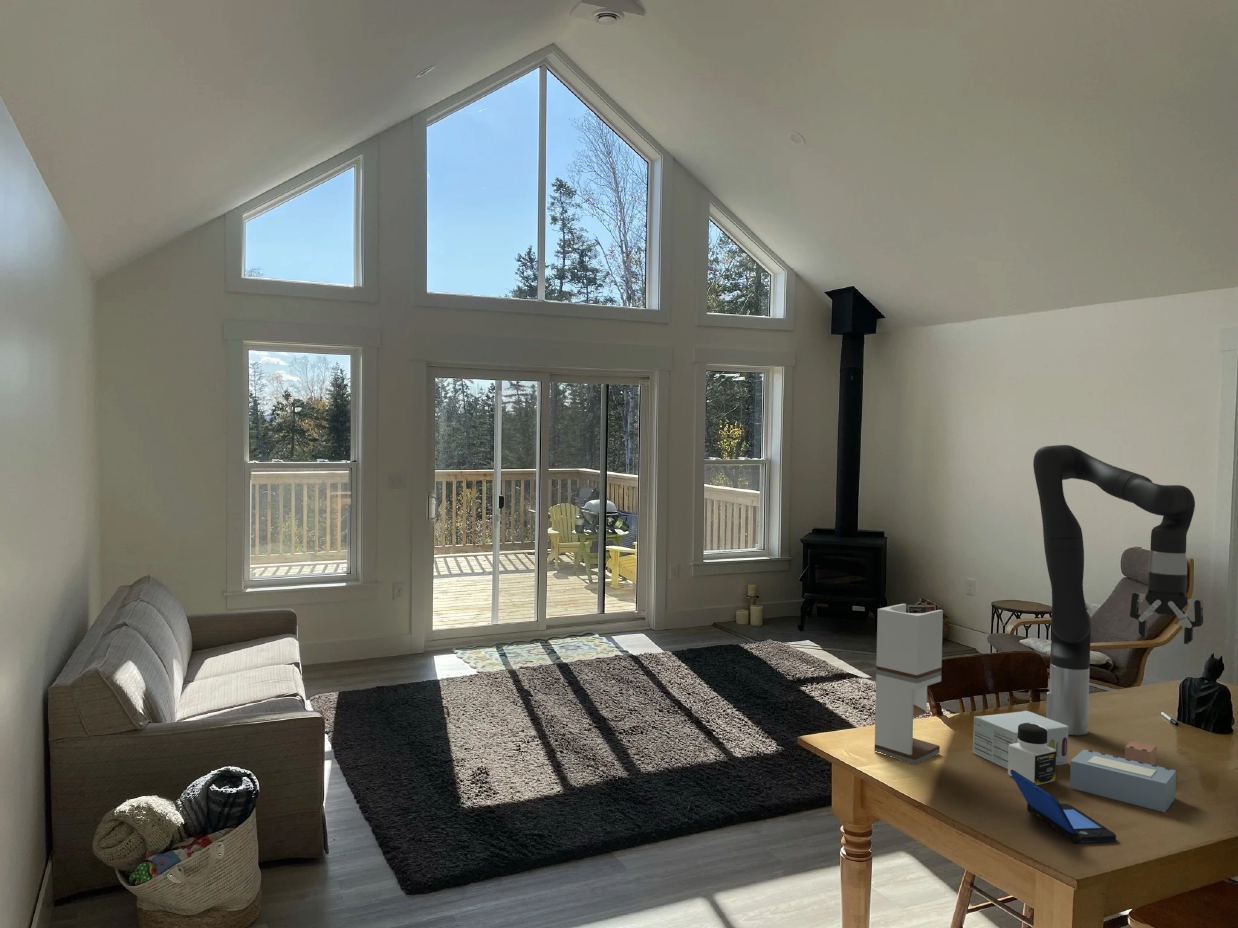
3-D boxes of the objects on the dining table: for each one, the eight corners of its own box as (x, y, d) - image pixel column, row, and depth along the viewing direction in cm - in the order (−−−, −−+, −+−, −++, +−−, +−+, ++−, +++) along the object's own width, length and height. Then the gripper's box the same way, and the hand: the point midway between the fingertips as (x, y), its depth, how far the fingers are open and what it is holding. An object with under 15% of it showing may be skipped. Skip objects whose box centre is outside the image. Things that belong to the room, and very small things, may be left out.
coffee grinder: (914, 764, 203) (918, 615, 202) (874, 752, 211) (877, 608, 210) (939, 753, 211) (942, 610, 210) (899, 742, 219) (903, 603, 218)
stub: (1124, 772, 200) (1125, 745, 200) (1130, 765, 204) (1131, 739, 204) (1149, 778, 197) (1150, 751, 196) (1155, 771, 201) (1156, 744, 201)
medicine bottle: (1034, 786, 191) (1036, 732, 191) (1007, 775, 198) (1008, 722, 197) (1056, 780, 195) (1057, 727, 194) (1028, 769, 201) (1029, 718, 201)
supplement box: (1013, 773, 199) (1014, 732, 199) (971, 753, 212) (972, 715, 212) (1069, 764, 205) (1070, 725, 205) (1025, 745, 218) (1026, 708, 218)
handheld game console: (1119, 843, 165) (1121, 795, 165) (1053, 846, 163) (1055, 797, 163) (1067, 808, 180) (1068, 764, 180) (1006, 811, 179) (1008, 766, 179)
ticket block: (1069, 787, 191) (1070, 759, 191) (1082, 775, 198) (1083, 748, 198) (1165, 812, 179) (1166, 782, 178) (1175, 798, 186) (1176, 769, 186)
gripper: (1128, 569, 204) (1126, 637, 205) (1200, 576, 194) (1198, 648, 195) (1136, 566, 210) (1134, 633, 210) (1207, 572, 200) (1204, 642, 200)
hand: (1165, 640), depth 202 cm, fingers open, 8 cm apart
